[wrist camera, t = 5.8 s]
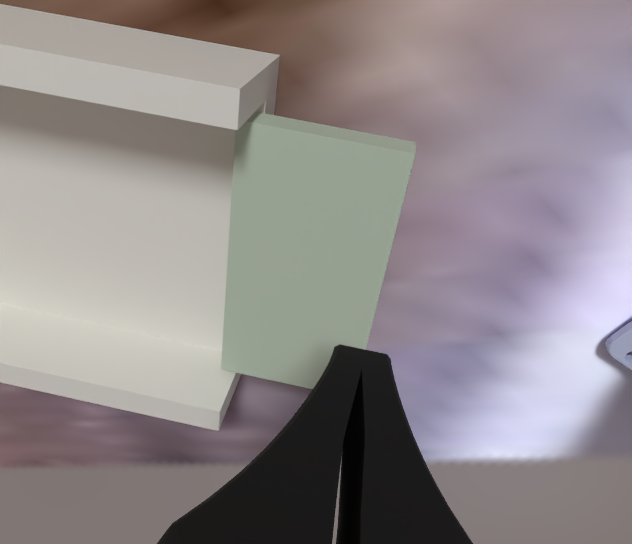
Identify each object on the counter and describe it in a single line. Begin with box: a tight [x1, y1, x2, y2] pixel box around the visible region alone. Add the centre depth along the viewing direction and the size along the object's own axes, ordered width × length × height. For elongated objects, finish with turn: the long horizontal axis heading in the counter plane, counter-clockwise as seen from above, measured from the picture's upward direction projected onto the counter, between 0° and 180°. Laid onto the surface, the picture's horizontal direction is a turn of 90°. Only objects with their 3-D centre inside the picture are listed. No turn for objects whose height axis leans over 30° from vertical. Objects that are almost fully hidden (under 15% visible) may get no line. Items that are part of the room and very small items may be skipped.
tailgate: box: [221, 112, 415, 389], centre depth 18 cm, size 2×9×5 cm
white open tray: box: [0, 4, 280, 431], centre depth 18 cm, size 12×12×4 cm
